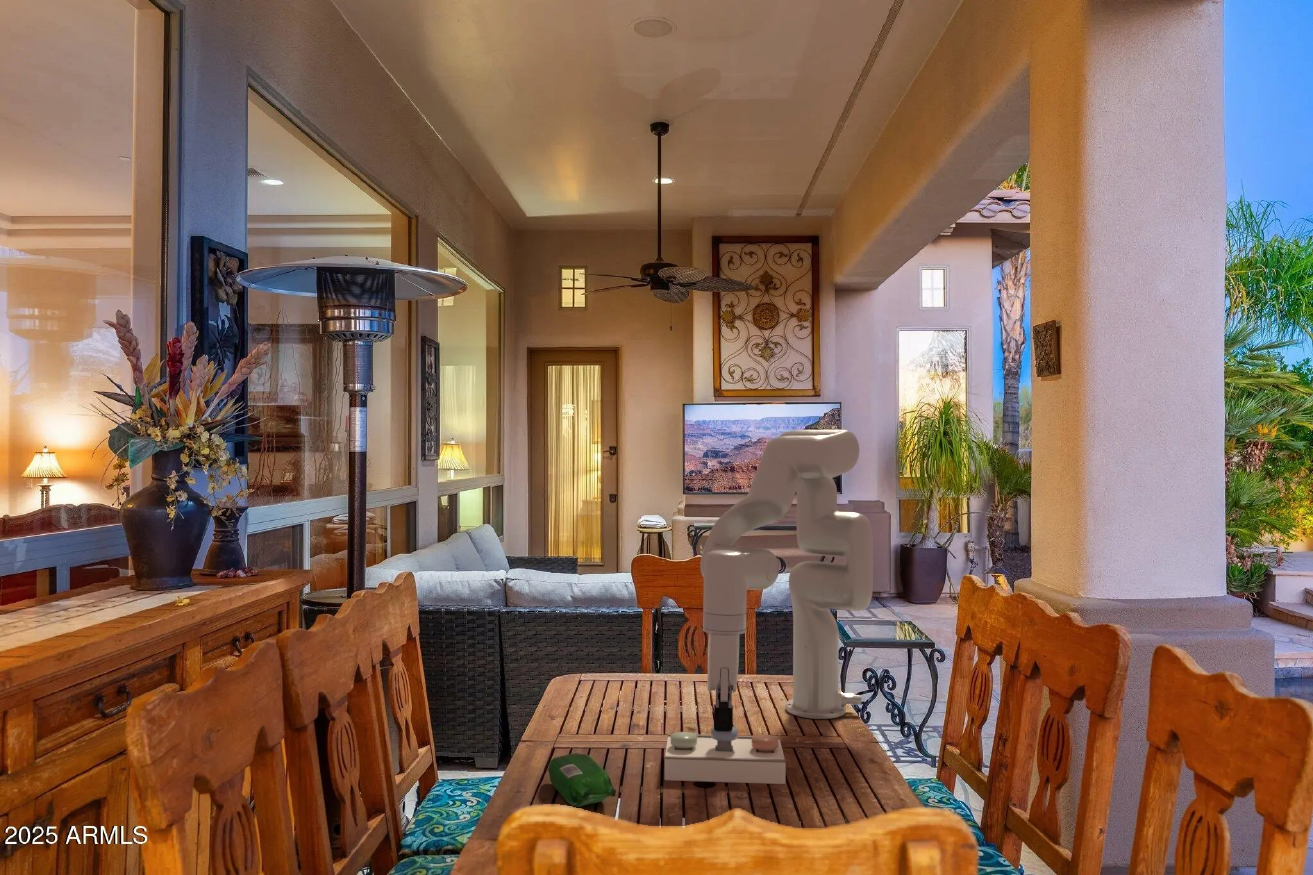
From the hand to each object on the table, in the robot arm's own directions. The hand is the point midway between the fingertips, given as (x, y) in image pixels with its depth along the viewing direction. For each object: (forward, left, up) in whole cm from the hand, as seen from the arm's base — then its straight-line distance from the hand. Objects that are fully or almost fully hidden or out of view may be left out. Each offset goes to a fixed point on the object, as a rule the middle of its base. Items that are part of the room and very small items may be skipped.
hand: (723, 729), depth 146 cm
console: (0, 0, -7) cm, 7 cm away
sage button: (+7, 0, -5) cm, 8 cm away
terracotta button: (-7, 0, -5) cm, 9 cm away
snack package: (+23, +13, -7) cm, 27 cm away
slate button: (0, 0, -3) cm, 3 cm away
